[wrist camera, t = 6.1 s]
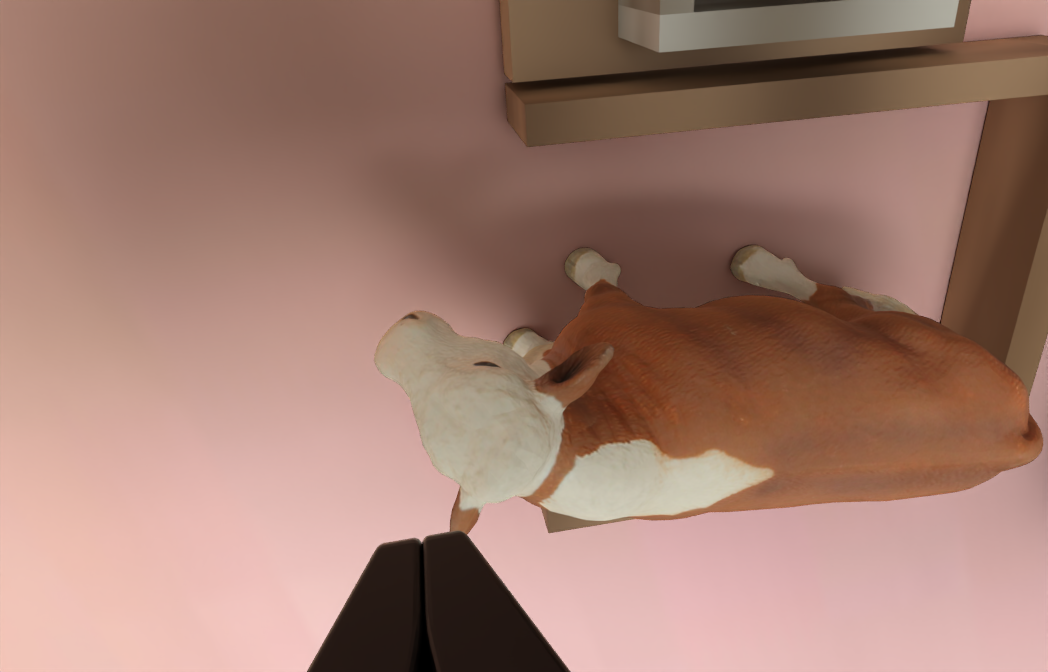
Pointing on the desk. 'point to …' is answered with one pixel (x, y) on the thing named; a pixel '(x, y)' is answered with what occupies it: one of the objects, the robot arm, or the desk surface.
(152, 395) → the desk surface
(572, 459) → the bull figurine
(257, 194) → the desk surface
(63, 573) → the desk surface
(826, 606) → the desk surface
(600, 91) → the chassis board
